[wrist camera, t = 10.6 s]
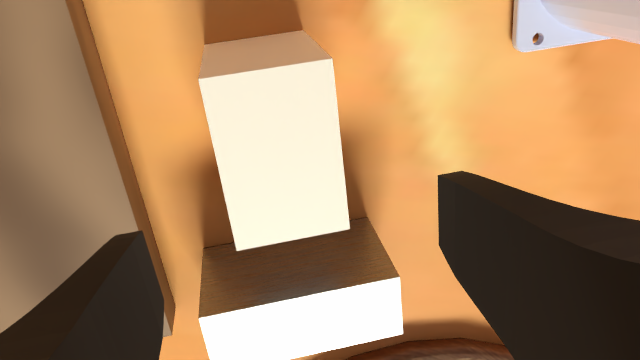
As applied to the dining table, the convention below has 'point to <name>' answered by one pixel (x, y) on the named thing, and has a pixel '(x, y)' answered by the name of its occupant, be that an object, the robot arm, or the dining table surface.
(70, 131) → the walnut plank
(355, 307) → the stop block
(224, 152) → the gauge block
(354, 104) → the dining table surface
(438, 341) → the trivet
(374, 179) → the dining table surface
